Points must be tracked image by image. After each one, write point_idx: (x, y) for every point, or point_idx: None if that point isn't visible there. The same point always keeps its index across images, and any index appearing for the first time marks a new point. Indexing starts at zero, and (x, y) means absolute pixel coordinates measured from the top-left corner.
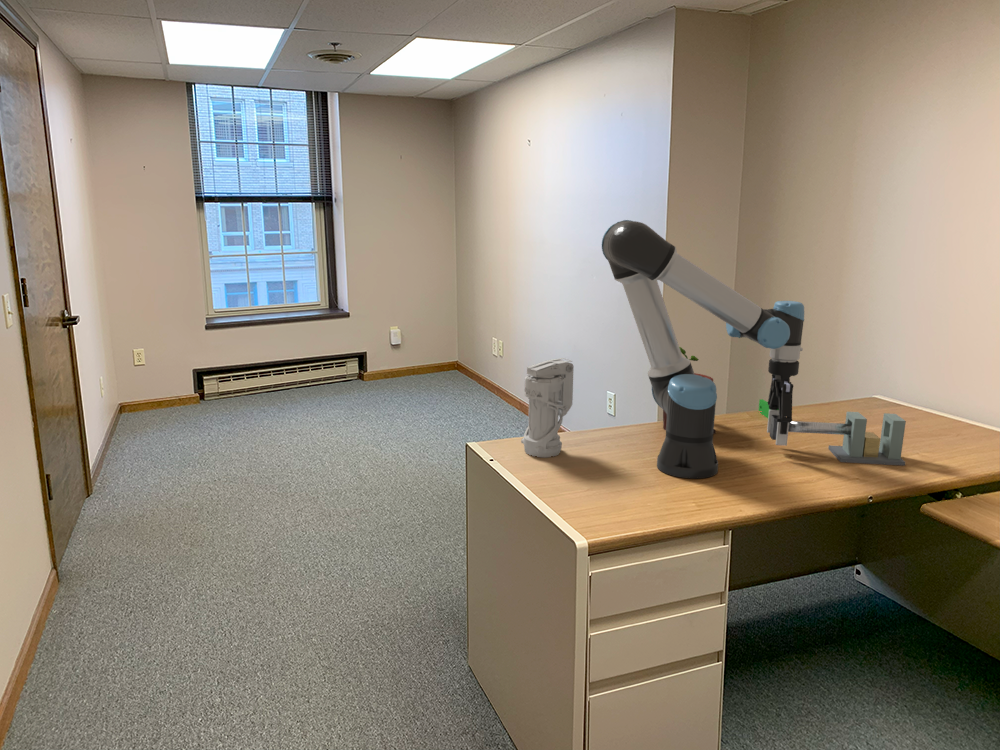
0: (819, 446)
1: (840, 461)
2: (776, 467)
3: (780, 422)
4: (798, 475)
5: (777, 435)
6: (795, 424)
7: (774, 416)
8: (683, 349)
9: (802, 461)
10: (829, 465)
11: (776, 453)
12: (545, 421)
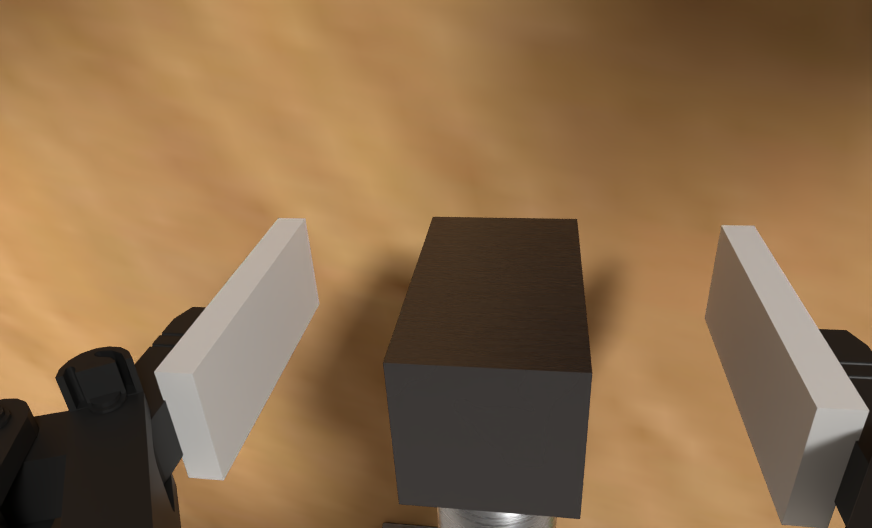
0: (695, 517)
1: (382, 526)
2: (119, 136)
3: (168, 386)
4: (25, 247)
5: (237, 270)
6: (445, 516)
7: (501, 390)
8: None
9: (328, 339)
10: (302, 458)
11: (475, 208)
12: None
